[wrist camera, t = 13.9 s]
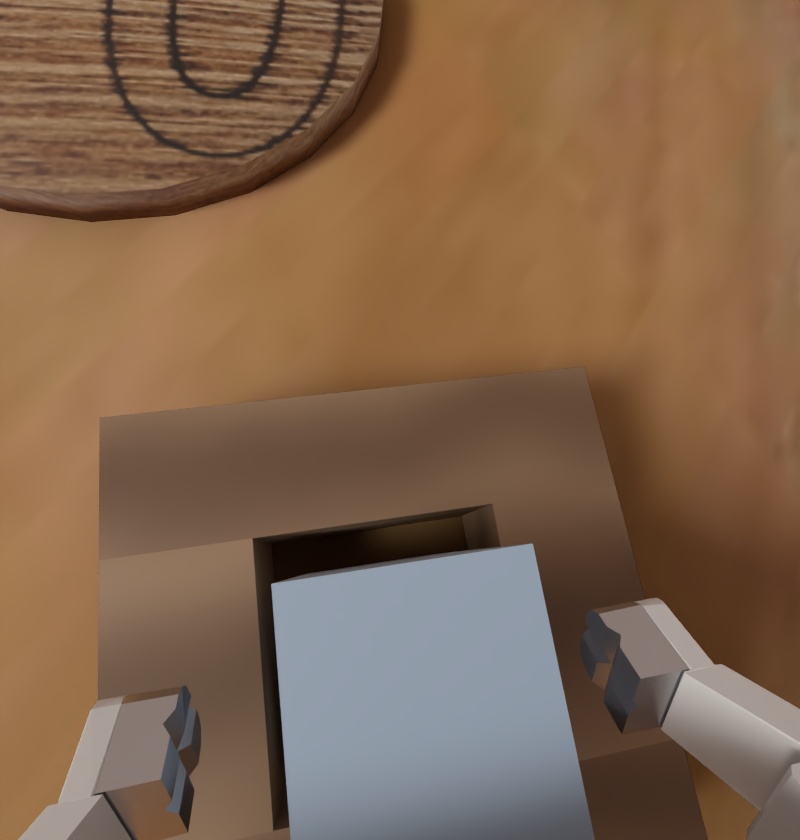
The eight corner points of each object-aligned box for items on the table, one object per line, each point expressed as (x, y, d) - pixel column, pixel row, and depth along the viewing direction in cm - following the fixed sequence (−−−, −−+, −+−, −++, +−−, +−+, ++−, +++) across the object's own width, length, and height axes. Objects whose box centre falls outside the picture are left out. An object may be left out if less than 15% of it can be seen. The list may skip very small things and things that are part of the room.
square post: (455, 687, 17) (595, 843, 8) (323, 713, 17) (296, 919, 7) (433, 553, 18) (532, 543, 9) (309, 572, 18) (271, 584, 8)
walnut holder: (638, 832, 17) (727, 913, 13) (161, 954, 14) (96, 1096, 11) (539, 403, 20) (584, 366, 17) (150, 448, 18) (99, 417, 14)
